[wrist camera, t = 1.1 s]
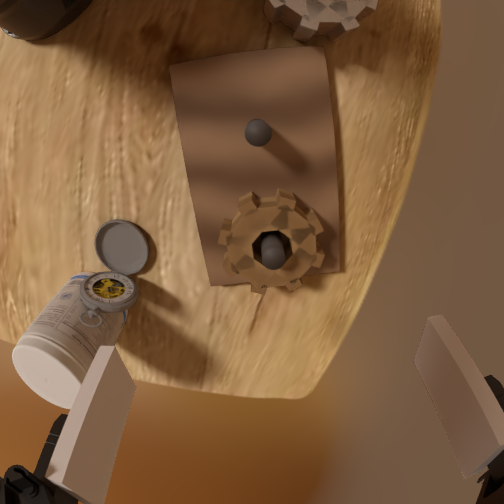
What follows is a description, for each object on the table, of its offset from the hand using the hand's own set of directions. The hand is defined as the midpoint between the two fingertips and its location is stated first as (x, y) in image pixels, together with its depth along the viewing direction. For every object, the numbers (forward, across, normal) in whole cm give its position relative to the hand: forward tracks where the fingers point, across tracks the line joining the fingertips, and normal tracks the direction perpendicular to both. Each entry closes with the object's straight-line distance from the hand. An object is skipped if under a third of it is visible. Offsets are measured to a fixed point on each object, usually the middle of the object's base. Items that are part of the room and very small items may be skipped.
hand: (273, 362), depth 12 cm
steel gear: (+21, +7, +20) cm, 30 cm away
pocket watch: (+21, -16, -4) cm, 27 cm away
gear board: (+21, 0, +3) cm, 21 cm away
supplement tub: (+21, -22, -10) cm, 32 cm away
